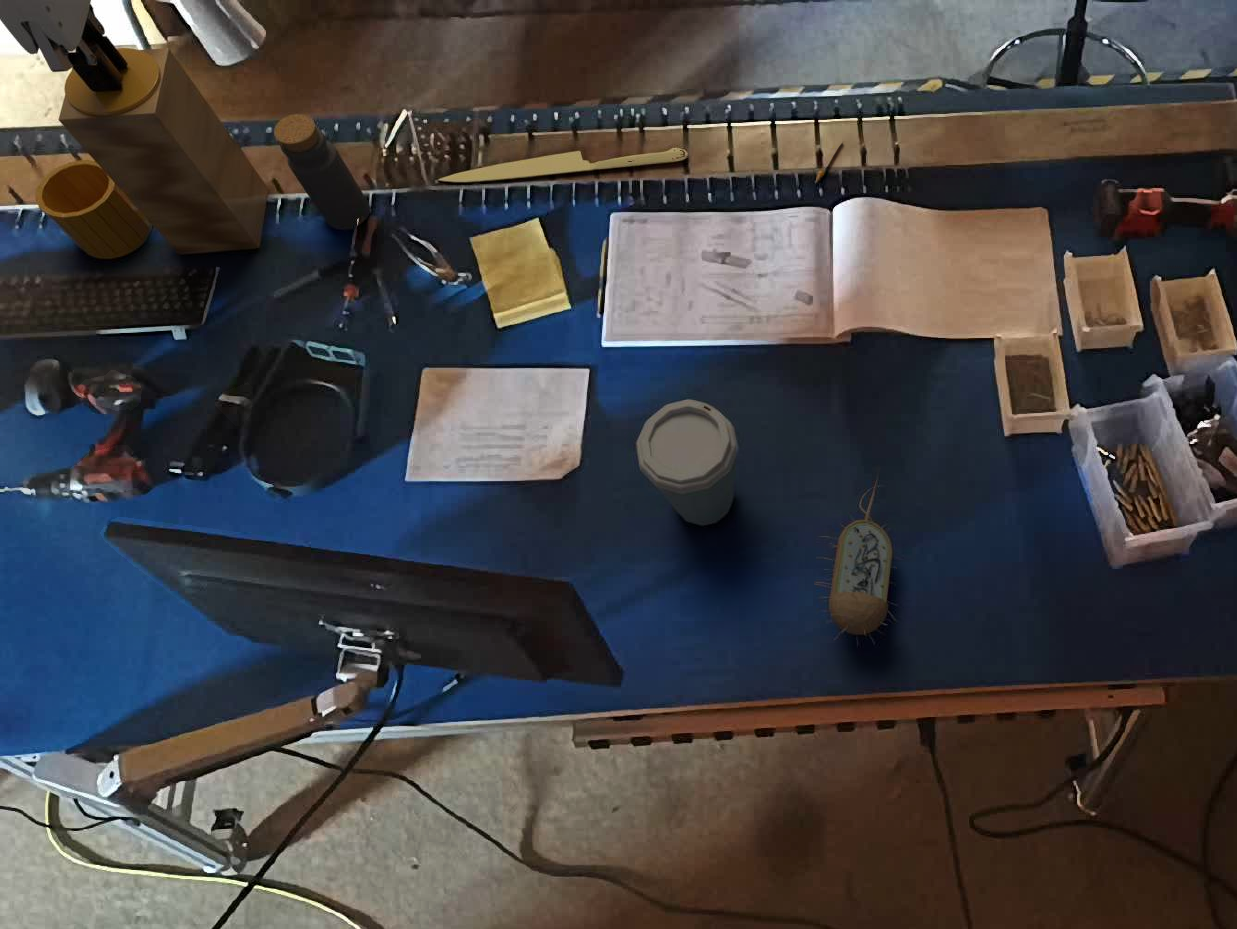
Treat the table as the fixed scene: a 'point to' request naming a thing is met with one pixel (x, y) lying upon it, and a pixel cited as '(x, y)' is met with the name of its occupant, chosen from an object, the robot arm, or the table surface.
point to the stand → (177, 165)
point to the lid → (135, 80)
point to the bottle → (321, 172)
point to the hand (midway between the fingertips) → (110, 77)
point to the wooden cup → (92, 210)
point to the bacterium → (860, 576)
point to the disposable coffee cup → (690, 459)
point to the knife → (559, 166)
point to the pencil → (819, 175)
